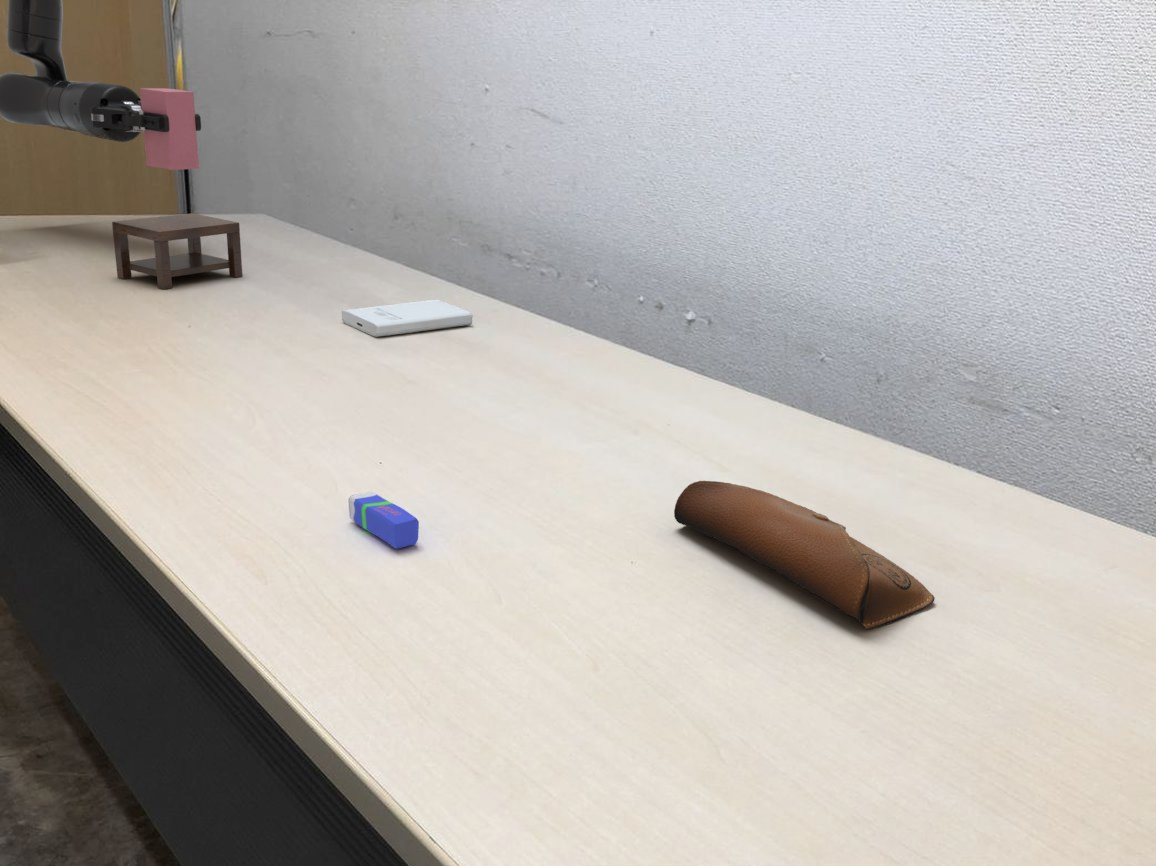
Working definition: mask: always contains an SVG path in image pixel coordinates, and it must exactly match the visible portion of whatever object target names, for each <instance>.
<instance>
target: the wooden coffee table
mask: <svg viewBox="0 0 1156 866" xmlns="http://www.w3.org/2000/svg"><path fill="white" fill-rule="evenodd" d="M111 226H112V227H111V228H112V236H113V246H114V247H113V248H114V255H115V265H116V266H115V267H116V277H117V278H118V279H122V280H127V279H132V277H133V276H132V271H134V272H137V273H142V274H146V275H149V276H153V277H156V279H157V280H156V282H157V288H158V289H160V290H169V289H173V282H172V280H173V279H172V278H175V277H182V276H188V275H195V274H200V273H207V272H214V271H219V270H226V269H228V274H229V275H228V276H229V277H232V278H235V279H236V278H240V277H243V264H242V262H243V261H242V246H241V229H240V222H238V221H232V220H228V219H223V218H219V217H213V216H208V215H204V214H198V213H194V212H191V213H182V214H174V215H165V216H153V217H145V218H135V219H126V220H125V219H124V220H115V221H111ZM217 235H226V245H227V258H222V257H218V256H213V255H208V254H205V253H202V239H201V238H203V237H210V236H217ZM129 236H132V237H136V238H141V239H144V240H145V239H146V240H149V241H153V246H154V247H153V248H154V257H151V258H142V259H138V260H137V259H136V260H131V257H130V255H131V254H130V246H129ZM186 239H187V249H188V251H187V252H188V253H187V252H186V253H181V254H173V255H170V247H169V246H170V245H169V242H171V241H178V240H186Z"/></svg>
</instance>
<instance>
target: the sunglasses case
mask: <svg viewBox="0 0 1156 866" xmlns="http://www.w3.org/2000/svg"><path fill="white" fill-rule="evenodd" d="M673 516H674V520H675V521H676V522H677V523H678V524H681V525H683V526H686V527H689V528H690V529H692V530H694V531H697V532H699V533H702V534H704V535H706V536H707V537H710V538H715V539H716V540H717V541H719V542H720V543H722V544H725V545H728V546H731V547H734V548H736V549H738V551H739V552H741V553H743V554H745V555H746V556H748V557H750V558H751V559H753V560H754V561H756V562H757V563H759V564H761V565H763V566H765V567H767V568H769V569H770V570H773V571H775V572H777V573H779V574H780V575H782V576H783V577H785V578H786V579H787V580H789V581H791V582H792V583H794V584H796V585H797V586H800V587H802V588H803V589H805V590H807V591H808V592H810V593H812V594H814V595H816V596H817V597H819V598H821V599H822V600H824V601H825V602H827V603H829V604H831V605H832V606H834V607H836V608H838V609H839V610H841V611H842V612H843V613H845V614H846V615H848V616H850V617H853V618H854V619H857V621H858V622H859V624H861V626H862V627H863V629H865V630H873V629H876V628H879V627H882V626H887V625H889V624H892V623H895V622H898V621H900V620H903V619H905V618H907V617H909V616H912V615H913V614H915V613H917V612H919V611H922V610H923V609H925V608H927V607H930V606H931V605H932V604H933V603H934V602H935V599H936V598H935V596H934V594H933V593H932V592H930V590H929V589H928V588H927V587H926V586H925V585H924V584H923V583H922V582H921V581H919V580H918V579H917V578H916V577H914V575H912V574H911V573H909V571H906V570H905V569H904V568H902V567H900V565H897V564H896V563H895V562H893V561H892V560H890V559H889V558H887V557H886V556H884V555H882V554H881V553H879V552H878V551H875V550H874V549H872V548H871V547H869V546H867V545H866V544H864V543H862V542H861V541H859V540H858V539H856V538H854V537H852V536H851V535H849V532H848V531H847V530H846V529H847V526H844V525H843V524H840V523H838V522H835V521H833V520H831V519H829V517H828V516H826V515H824V514H822V513H818V512H816V511H814V510H812V509H810V508H808V507H806V506H802V505H801V504H797V503H795V502H792V501H790V500H788V499H785V498H783V497H779V496H777V495H774V494H773V493H769V492H766V491H763V490H760V489H756V488H753V487H749V486H745V485H739V484H736V483H730V482H724V481H715V480H698V481H694V482H692V483H690V484H688V485H687V486H686V487H685V488H684V489H683V490H682V491H681V493H680V494H679V496H678V498H677V500H676V502H675V505H674V509H673Z"/></svg>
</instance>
